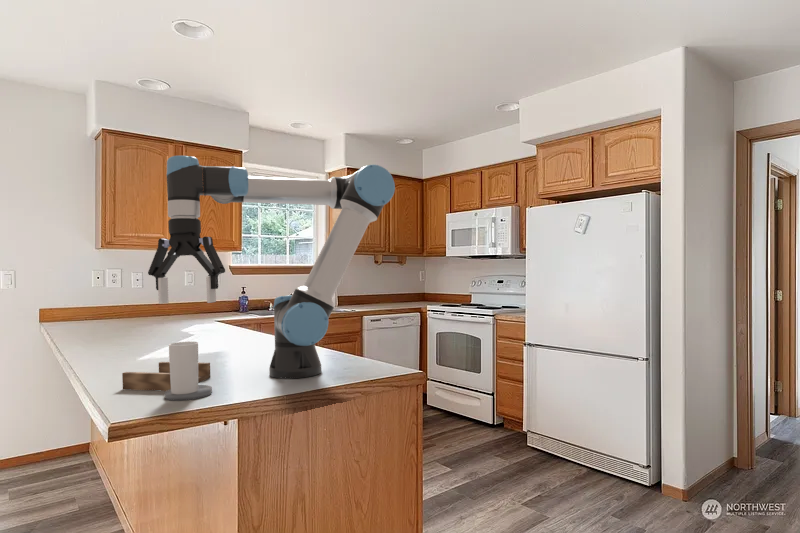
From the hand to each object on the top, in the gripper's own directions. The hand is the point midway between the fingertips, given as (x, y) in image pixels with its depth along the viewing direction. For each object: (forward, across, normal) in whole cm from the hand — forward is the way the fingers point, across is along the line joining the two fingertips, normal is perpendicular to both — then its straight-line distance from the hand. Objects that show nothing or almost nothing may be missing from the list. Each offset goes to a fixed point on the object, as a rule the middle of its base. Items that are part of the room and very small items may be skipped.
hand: (187, 302), depth 129 cm
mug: (+22, +1, 0) cm, 22 cm away
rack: (+23, +14, -11) cm, 29 cm away
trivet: (+23, 0, 0) cm, 23 cm away
